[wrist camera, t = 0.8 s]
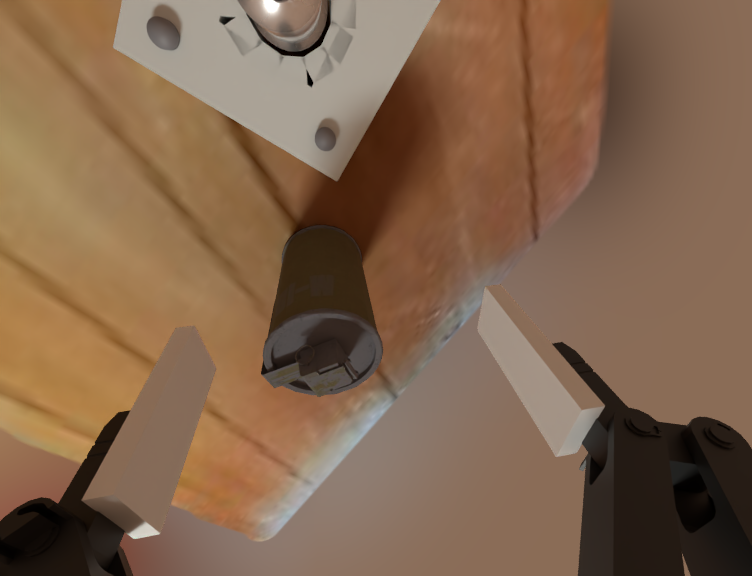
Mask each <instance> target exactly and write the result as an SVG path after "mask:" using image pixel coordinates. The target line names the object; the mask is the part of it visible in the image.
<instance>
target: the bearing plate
mask: <svg viewBox="0 0 752 576" xmlns="http://www.w3.org/2000/svg"><path fill="white" fill-rule="evenodd" d="M329 1H330V27H329V29H328V31H327V33H326V36H325V38H324V40H323V42H322V45H321V46H319V47H318V48H316V49H315V50H313V51H312V52H310V53H309V54H307V55H305V56H304V57H297V56H284V55H282V54H281V53H279V52H278V51H276V50H275V49H274V48H272V47H271V46H270V45H268V44H267V43H266V41H265V39H264V38H263V36H262V34H261V32H260V31H259V30H258V28H257V27H256V25H255V23H254V21H253V19H252V18H251V17H250V16H249V15H248V14H247V13H246V12H245V11H244V9H243V8H242V7H241V5H240V4H239V2H238V1H237V0H122V5H121V10H120V15H119V20H118V25H117V30H116V35H115V40H114V45H113V48H115V49H116V50H118V51H120V52H121V53H123V54H125V55H126V56H128V57H130V58H131V59H133V60H135V61H136V62H138V63H140V64H141V65H143V66H145V67H146V68H148V69H150V70H151V71H153V72H155V73H156V74H158V75H160V76H161V77H163V78H165V79H166V80H168V81H170V82H171V83H173V84H175V85H176V86H178V87H180V88H181V89H183V90H185V91H186V92H188V93H190V94H191V95H193V96H195V97H196V98H198V99H200V100H201V101H203V102H205V103H206V104H208V105H210V106H211V107H213V108H215V109H216V110H218V111H220V112H221V113H223V114H225V115H226V116H228V117H230V118H231V119H233V120H235V121H236V122H238V123H240V124H241V125H243V126H245V127H246V128H248V129H250V130H251V131H253V132H255V133H257V134H258V135H260V136H262V137H263V138H265V139H267V140H268V141H270V142H272V143H273V144H275V145H277V146H278V147H280V148H282V149H283V150H285V151H287V152H288V153H290V154H292V155H293V156H295V157H297V158H298V159H300V160H302V161H303V162H305V163H307V164H308V165H310V166H312V167H313V168H315V169H317V170H318V171H320V172H322V173H323V174H325V175H327V176H328V177H330V178H332V179H333V180H335V181H338V179H339V178H340V176H341V174H342V172H343V171H344V169H345V167H346V165H347V164H348V162H349V160H350V158H351V157H352V155H353V153H354V151H355V150H356V148H357V146H358V144H359V143H360V141H361V139H362V137H363V136H364V134H365V132H366V130H367V128H368V127H369V125H370V123H371V121H372V120H373V118H374V116H375V114H376V113H377V111H378V109H379V107H380V106H381V104H382V102H383V100H384V99H385V97H386V95H387V93H388V92H389V90H390V88H391V86H392V85H393V83H394V81H395V79H396V78H397V76H398V74H399V72H400V71H401V69H402V67H403V65H404V63H405V62H406V60H407V58H408V56H409V55H410V53H411V51H412V49H413V48H414V46H415V44H416V42H417V41H418V39H419V37H420V35H421V34H422V32H423V30H424V28H425V27H426V25H427V23H428V21H429V20H430V18H431V16H432V14H433V13H434V11H435V9H436V7H437V6H438V4H439V2H440V0H329ZM308 73H309V75H310V77H311V79H312V81H313V85H312V86H311V85H310V84H308Z"/></svg>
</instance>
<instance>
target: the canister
mask: <svg viewBox="0 0 752 576" xmlns="http://www.w3.org/2000/svg"><path fill="white" fill-rule="evenodd" d="M382 354H383V347H382V341H381V338H380V336H379V334H378V332H377V328H376V324H375V320H374V315H373V311H372V306H371V302H370V297H369V293H368V289H367V284H366V280H365V275H364V271H363V266H362V255H361V251H360V249H359V246H358V245H357V243H356V242H355V240H354V239H353V238H352V237H351V236H350V235H348V234H347V233H346V232H345V231H343V230H341V229H339V228H336V227H332V226H327V225H315V226H311V227H307V228H305V229H302V230H300V231H298V232H297V233H295V234H294V235H293V236H292V237H291V238H290V239H289V241H288V242H287V243H286V245H285V247H284V250H283V254H282V268H281V273H280V279H279V284H278V289H277V295H276V300H275V303H274V308H273V313H272V318H271V324H270V329H269V334H268V338H267V340H266V341H265V345H264V349H263V365H262V371H261V375H262V376H263V377H264V378H265V379H266V380H267V381H268V382H269V383H270V384H271V385H272V386H273V387H274V388H276V387H279V386H284V387H286V388H288V389H290V390H293V391H295V392H300V393H304V394H309V395H317V396H318V397H321V396H323V395H329V394H337V393H340V392H343V391H346V390H349V389H352V388H354V387H357V386H358V385H359V384H361V383H362V382H364V381H365V380H367V379H368V378H369V377H370V376H371V375H372V374H373V373H374V372H375V370H376V369H377V367H378V365H379V363H380V361H381V359H382Z"/></svg>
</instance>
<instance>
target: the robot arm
mask: <svg viewBox="0 0 752 576" xmlns="http://www.w3.org/2000/svg"><path fill="white" fill-rule="evenodd" d="M477 330H478V332H479V333H480V335H481V336H482V338H483V340H484V341H485V343H486V345H487V346H488V348H489V350H490V351H491V353H492V354H493V356H494V358H495V359H496V361H497V362H498V364H499V366H500V367H501V369H502V370H503V372H504V374H505V375H506V377H507V379H508V380H509V382H510V383H511V385H512V387H513V388H514V390H515V391H516V393H517V395H518V396H519V398H520V400H521V401H522V403H523V404H524V406H525V408H526V409H527V411H528V412H529V414H530V415H531V417H532V419H533V420H534V422H535V423H536V425H537V427H538V428H539V430H540V432H541V433H542V435H543V437H544V438H545V440H546V441H547V443H548V444H549V446H550V448H551V449H552V451H553V453H554V454H555V456H556V457H558V456H563V455H568V454H574V453H577V451H578V449H579V448H580V446H581V445H582V444H583V445H584V447H585V448H586V450H587V451H588V455H587V456H586V457H585V459H584V461H583V462H582V464H581V466H580V468H579V469H580V470H582V471H583V470H584V468H585V467H586V470H585V485H584V498H583V513H582V526H581V540H580V555H579V568H578V569H579V570H578V576H685V574H684V566H683V559H682V553H683V556H684V559H685V561H686V564H687V567H688V570H689V572H690V575H691V576H752V449H751V447H750V446H749V444H748V443H747V441H746V440H745V439H744V438H743V437H742V436H741V435H740V434H739V433H738V432H736V431H735V430H734V429H733V428H731V427H730V426H728V425H726V424H724V423H722V422H720V421H718V420H715V419H711V418H708V417H697V418H694V419H692V420H691V422H690V423H689V424H688V425H687V426H686V425H679V424H671V423H663V422H657V421H656V420H654V419H653V418H652V417H650V416H649V415H648V414H646V413H644V412H642V411H640V410H637V409H632V408H628V407H627V406H626V405H625V404H624V403H623V402H622V401H621V400H620V399H619V397H618V396H617V395H616V394H615V393H614V392H613V391H612V390H611V389H610V388H609V387H608V385H607V384H606V383H605V382H604V381H603V380H602V379H601V378H600V377H599V376H598V375H597V374H596V373H595V372H593V369H592V368H591V367H590V366H589V365H588V364H587V363H585V361H584V360H583V358H581V356H580V355H579V354H578V353H577V352H576V351H575V350H573V349H572V348H570V347H569V346H567V345H566V344H564V343H563V342H560V343H554V344H552V343H551V342H550V341H549V340H548V339H547V338H546V336H545V335H544V334H543V333H542V332H541V331H540V330H539V328H538V327H537V326H536V325H535V324H534V323H533V322H532V320H531V319H530V318H529V317H528V316H527V314H526V313H525V312H524V311H523V310H522V309H521V307H520V306H519V305H518V304H517V303H516V302H515V301H514V299H513V298H512V297H511V296H510V295H509V294H508V292H507V291H506V290H505V289H504V288H503V287H502V285H501V284H499V285H492V286H485V290H484V295H483V301H482V306H481V312H480V318H479V323H478V329H477ZM215 371H216V367H215V365H214V363H213V361H212V359H211V357H210V355H209V353H208V351H207V349H206V347H205V345H204V343H203V341H202V339H201V337H200V335H199V333H198V331H197V330H196V328H195V326H187V327H180V328H176V329H175V330H174V332H173V334H172V336H171V338H170V339H169V341H168V343H167V345H166V347H165V349H164V350H163V352H162V354H161V356H160V358H159V360H158V361H157V363H156V365H155V367H154V369H153V370H152V372H151V374H150V376H149V378H148V380H147V381H146V383H145V385H144V387H143V389H142V391H141V392H140V394H139V396H138V398H137V400H136V402H135V403H134V405H133V407H132V409H131V411H124V412H118V413H117V414H116V415H115V416H114V417H113V418H112V419H111V420H110V421H109V422H108V423H107V424H106V426H105V427H104V428H103V430H102V431H101V433H100V435H99V436H98V438H97V440H96V441H95V445H94V446H92V448H91V450H90V451H89V453H88V455H87V459H85V460H84V461H83V463H82V465H81V466H80V468H79V470H78V471H77V473H76V475H75V477H74V478H73V480H72V482H71V483H70V485H69V487H68V488H67V490H66V492H65V493H64V495H63V497H62V498H61V500H60V502H59V503H58V504H57V503H56V502H54V501H52V500H51V499H49V498H42V497H41V498H38V499H34V500H30V501H28V502H26V503H25V504H23V505H21V506H19V507H17V508H16V509H14V510H13V511H12V512H10V514H8V515H7V516H5V517H4V518H3V519H2V520H1V521H0V576H133V574H132V571H131V568H130V566H129V563H128V561H127V558H126V555H125V553H124V550H123V549H122V548H121V547H120V545H119V544H120V542H121V540H122V537H123V535H124V532H125V533H127V534H128V535H130V536H131V537H132V538H134V539H137V538H142V537H147V536H152V535H158V534H161V531H162V528H163V525H164V522H165V519H166V516H167V513H168V510H169V507H170V504H171V501H172V499H173V496H174V493H175V490H176V487H177V484H178V481H179V478H180V475H181V472H182V469H183V466H184V463H185V460H186V457H187V454H188V451H189V448H190V445H191V442H192V439H193V436H194V433H195V430H196V427H197V424H198V421H199V418H200V415H201V412H202V409H203V407H204V404H205V401H206V398H207V395H208V392H209V389H210V386H211V383H212V380H213V377H214V374H215Z"/></svg>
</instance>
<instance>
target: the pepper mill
mask: <svg viewBox="0 0 752 576" xmlns="http://www.w3.org/2000/svg"><path fill="white" fill-rule="evenodd" d="M237 1H238V2H239V4H240V5H241V7H242V8H243V9H244V11H245V12H246V13H247V14H248V15H249V16H250V17H251V18H252V19H253V21H254V23H255V25H256V27H257V28H258V30H259V31H260V32H261V34H262V35H263V36H264V37H265V38H266V39H267V40H268V41H269V42H271V43H272V44H273V45H275V46H277V47H279V48H281V49H283V50H286V51H302V50H305V49H307V48H309V47H311V46H312V45H313V44H314V43H315V42H316V41H317V40H318V39H319V37H320V36H321V34H322V32H323V30H324V27H325V24H326V19H327V11H328V4H327V0H237Z"/></svg>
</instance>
